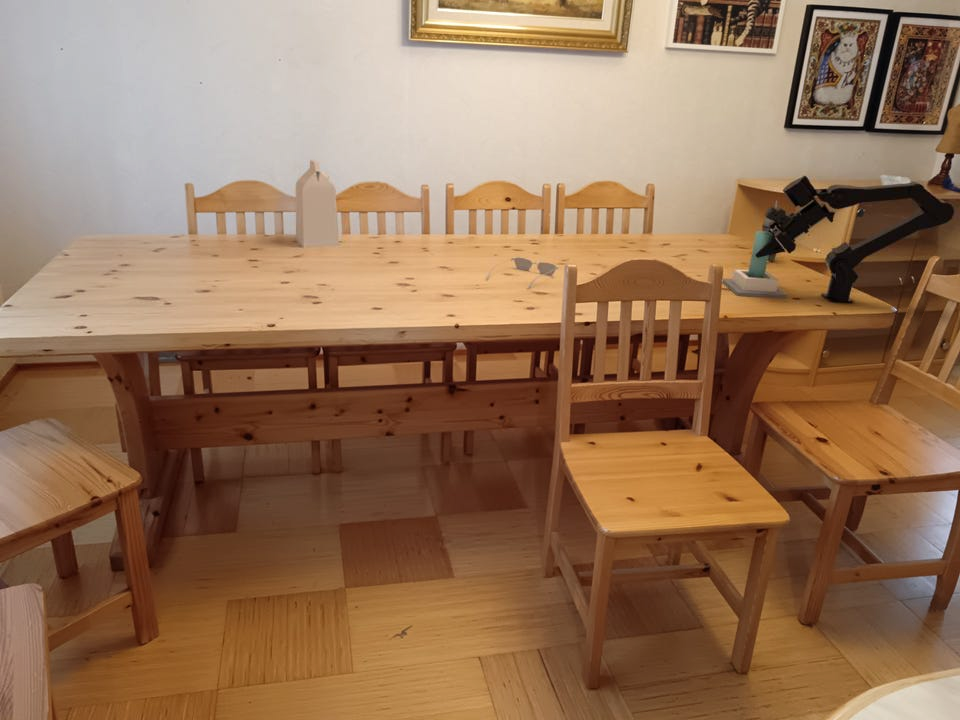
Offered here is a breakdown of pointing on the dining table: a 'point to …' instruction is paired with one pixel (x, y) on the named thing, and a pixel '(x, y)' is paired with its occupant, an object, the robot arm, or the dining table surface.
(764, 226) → the beverage cup
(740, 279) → the socket block
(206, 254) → the dining table surface
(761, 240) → the peg
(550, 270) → the eyeglasses
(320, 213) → the milk
